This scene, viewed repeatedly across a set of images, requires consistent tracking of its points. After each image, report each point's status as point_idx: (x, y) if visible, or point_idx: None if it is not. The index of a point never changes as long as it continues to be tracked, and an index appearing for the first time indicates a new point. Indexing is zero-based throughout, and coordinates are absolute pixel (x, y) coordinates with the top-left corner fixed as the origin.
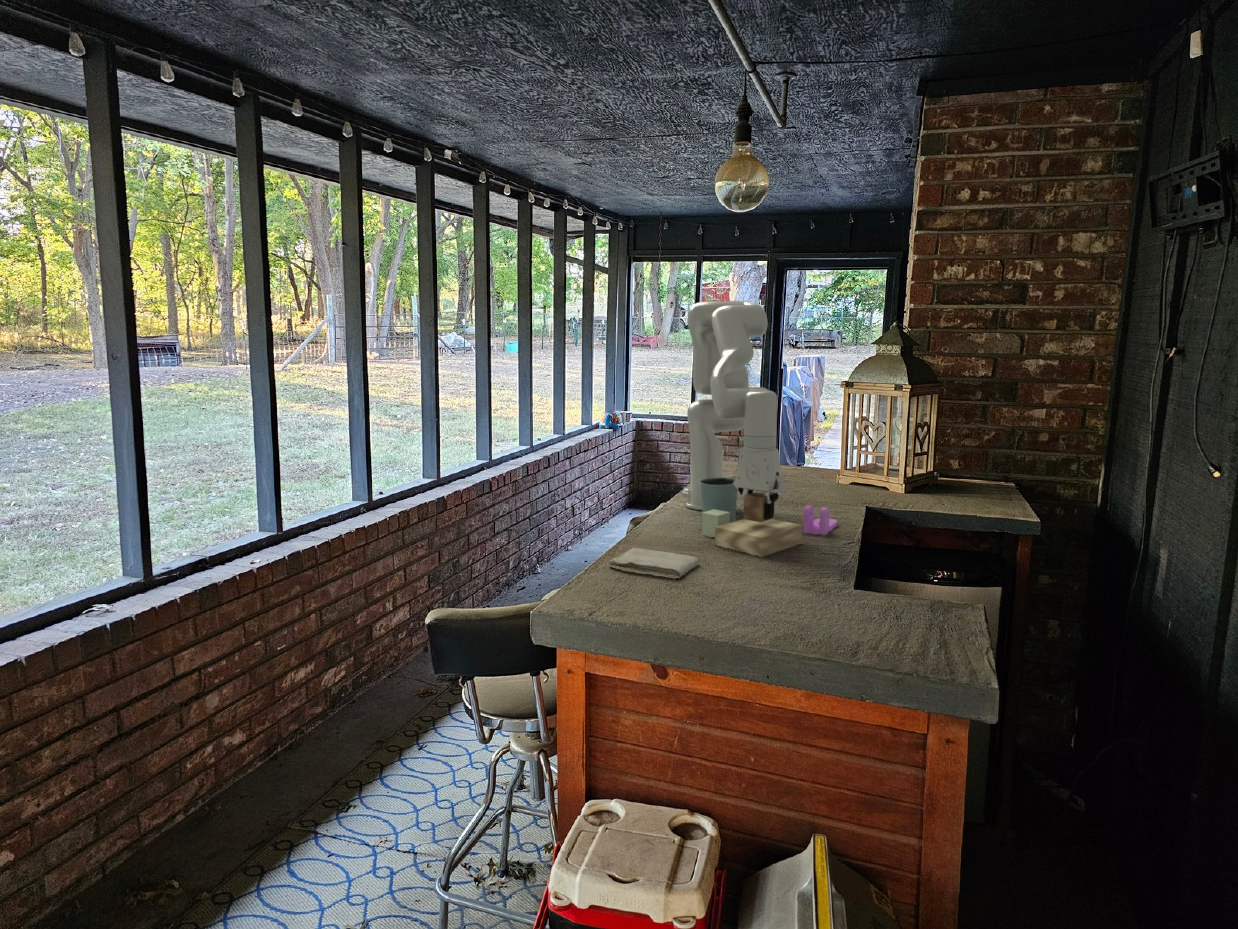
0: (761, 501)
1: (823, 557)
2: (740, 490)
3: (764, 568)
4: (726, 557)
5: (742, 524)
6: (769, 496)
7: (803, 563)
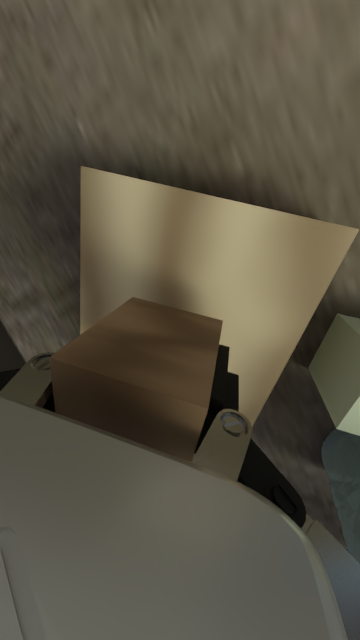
0: (71, 344)
1: (15, 270)
2: (275, 490)
3: (48, 35)
4: (224, 80)
5: (241, 331)
6: (11, 382)
7: (11, 188)
